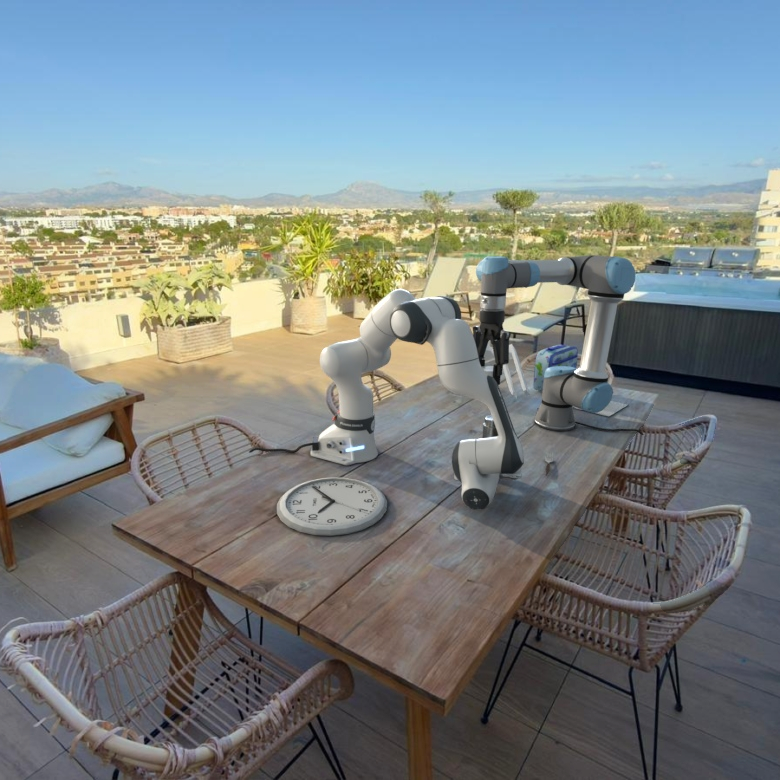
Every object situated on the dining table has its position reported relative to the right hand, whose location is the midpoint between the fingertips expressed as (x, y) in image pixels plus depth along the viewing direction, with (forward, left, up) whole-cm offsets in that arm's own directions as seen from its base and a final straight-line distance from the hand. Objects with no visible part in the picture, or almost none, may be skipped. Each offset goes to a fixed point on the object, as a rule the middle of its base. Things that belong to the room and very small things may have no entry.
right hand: (488, 382), depth 165 cm
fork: (-21, +3, -27) cm, 34 cm away
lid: (0, 0, +4) cm, 4 cm away
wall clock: (+42, +37, -27) cm, 62 cm away
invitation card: (-54, -62, -27) cm, 87 cm away
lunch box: (-38, -85, -27) cm, 97 cm away
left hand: (-2, +10, -20) cm, 23 cm away
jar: (-1, +11, -27) cm, 29 cm away
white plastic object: (-2, -74, -27) cm, 79 cm away
